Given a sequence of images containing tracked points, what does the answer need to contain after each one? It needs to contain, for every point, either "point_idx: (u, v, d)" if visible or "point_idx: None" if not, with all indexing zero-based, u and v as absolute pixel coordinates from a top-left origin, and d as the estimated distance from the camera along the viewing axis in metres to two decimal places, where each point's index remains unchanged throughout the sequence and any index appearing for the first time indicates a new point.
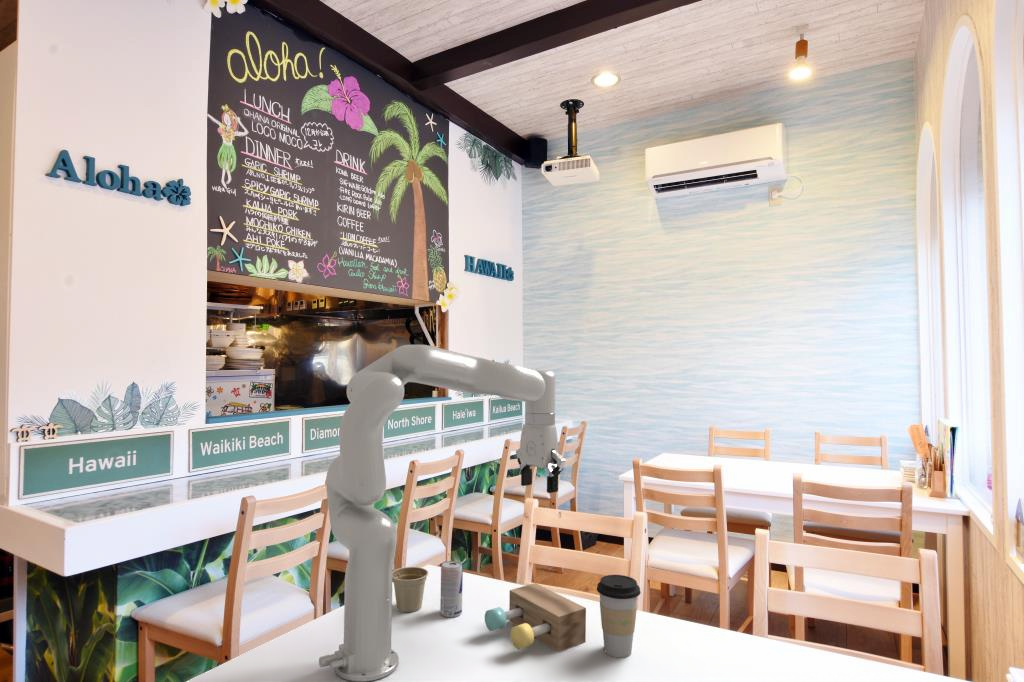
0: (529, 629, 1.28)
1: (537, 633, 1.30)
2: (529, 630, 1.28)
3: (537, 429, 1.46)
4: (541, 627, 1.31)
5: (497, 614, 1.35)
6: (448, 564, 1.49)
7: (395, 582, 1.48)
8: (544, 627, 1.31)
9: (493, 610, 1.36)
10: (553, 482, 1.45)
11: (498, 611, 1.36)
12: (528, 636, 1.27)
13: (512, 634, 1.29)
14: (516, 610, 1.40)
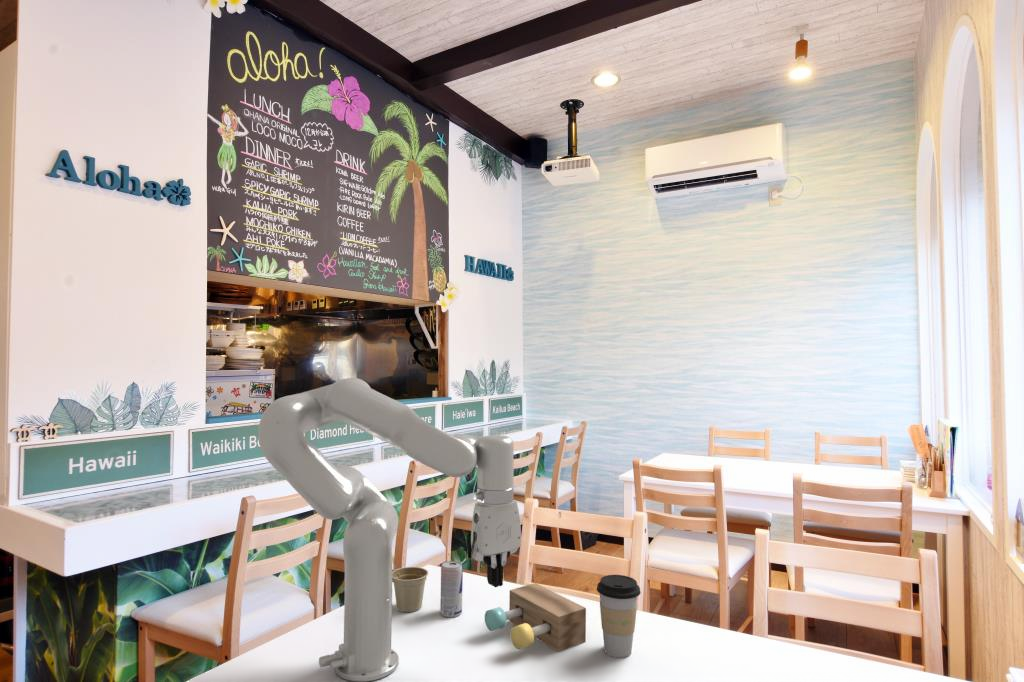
0: (529, 629, 1.28)
1: (537, 633, 1.30)
2: (529, 630, 1.28)
3: (511, 506, 1.24)
4: (541, 627, 1.31)
5: (497, 614, 1.35)
6: (448, 564, 1.49)
7: (395, 582, 1.48)
8: (544, 627, 1.31)
9: (493, 610, 1.36)
10: None
11: (498, 611, 1.36)
12: (528, 636, 1.27)
13: (512, 634, 1.29)
14: (516, 610, 1.40)
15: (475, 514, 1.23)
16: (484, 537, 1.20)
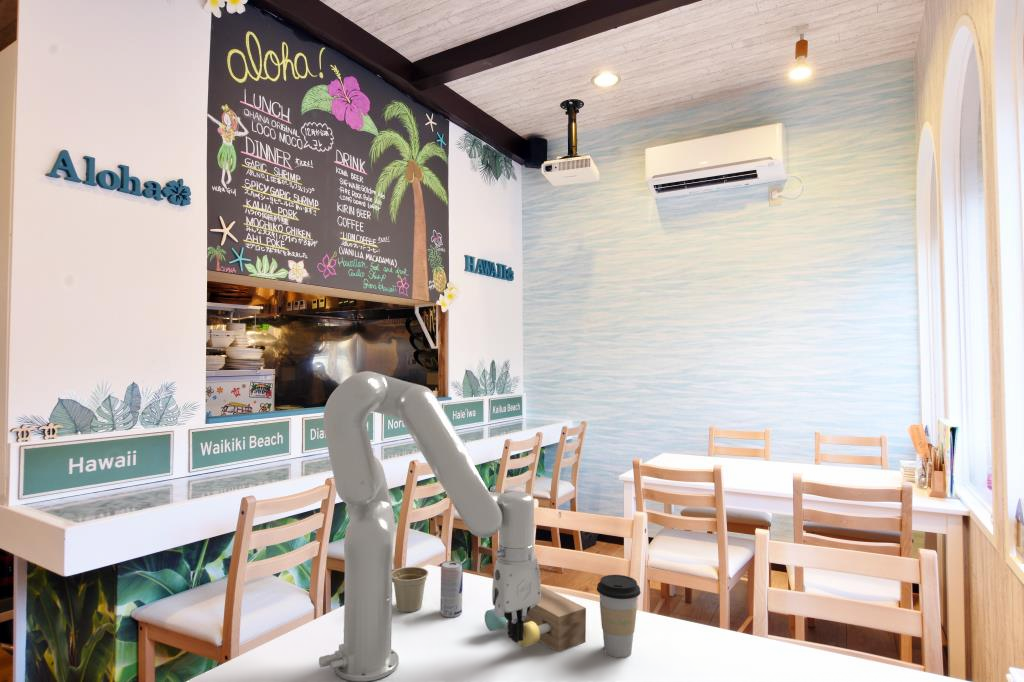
0: (535, 627, 1.29)
1: (543, 631, 1.31)
2: (535, 628, 1.29)
3: (531, 563, 1.27)
4: (547, 625, 1.32)
5: None
6: (448, 564, 1.49)
7: (395, 582, 1.48)
8: (550, 625, 1.32)
9: (493, 610, 1.36)
10: None
11: None
12: (534, 634, 1.28)
13: None
14: None
15: (496, 570, 1.26)
16: (505, 594, 1.23)
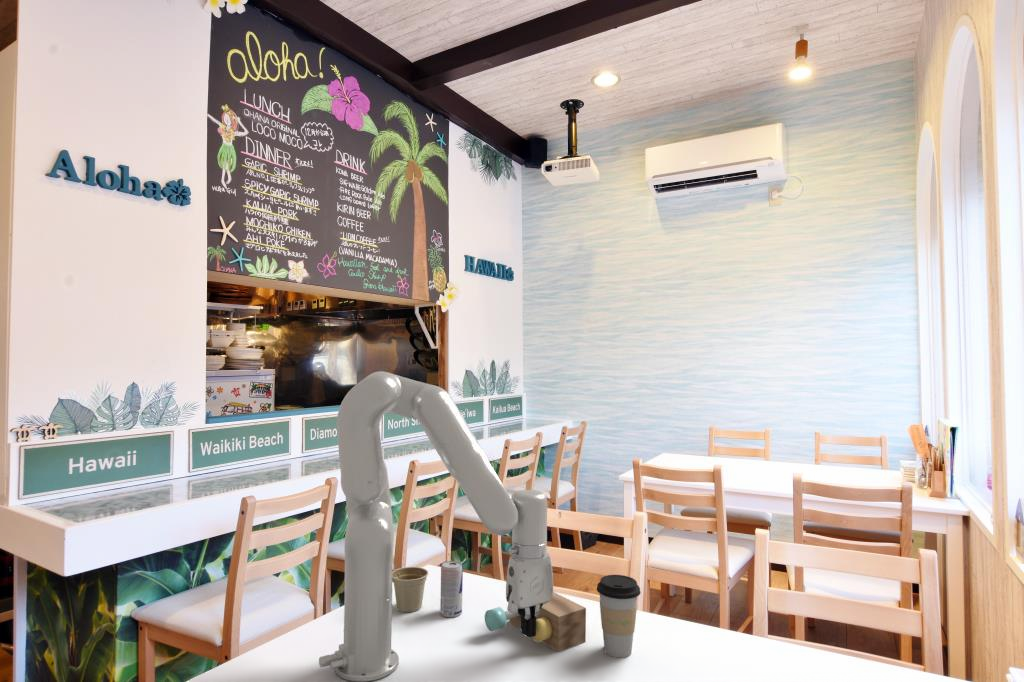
0: (547, 623, 1.31)
1: None
2: (547, 624, 1.31)
3: (544, 560, 1.29)
4: None
5: (497, 614, 1.35)
6: (448, 564, 1.49)
7: (395, 582, 1.48)
8: None
9: (493, 610, 1.36)
10: None
11: (498, 611, 1.36)
12: (547, 630, 1.30)
13: None
14: None
15: (510, 567, 1.28)
16: (519, 591, 1.25)
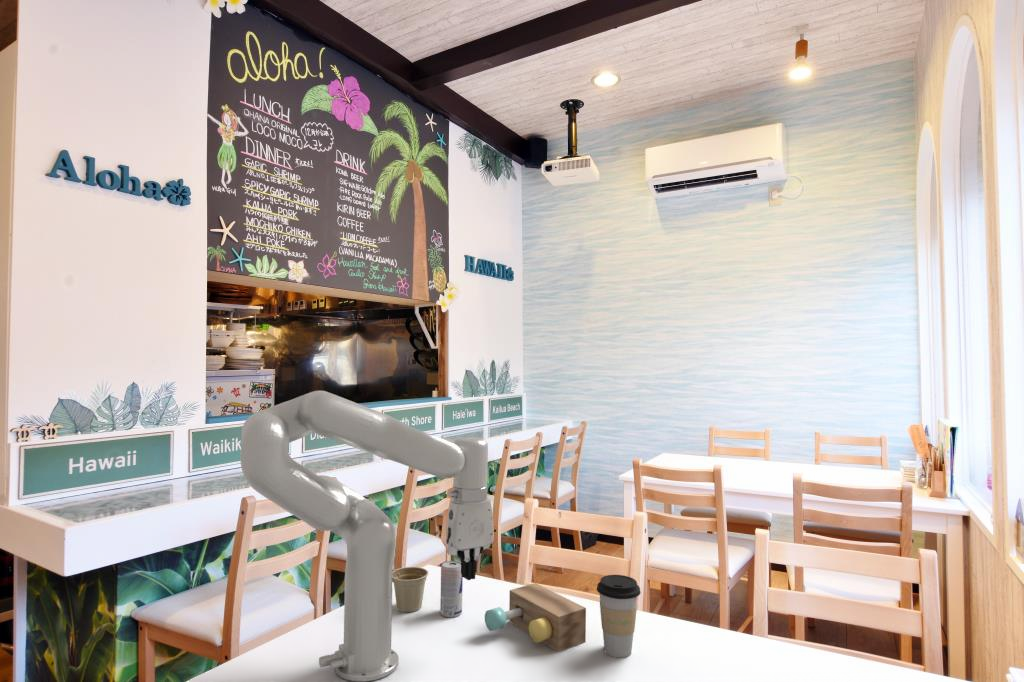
0: (547, 623, 1.31)
1: None
2: (547, 624, 1.31)
3: (484, 504, 1.32)
4: None
5: (497, 614, 1.35)
6: (448, 564, 1.49)
7: (395, 582, 1.48)
8: None
9: (493, 610, 1.36)
10: None
11: (498, 611, 1.36)
12: (546, 630, 1.30)
13: (530, 628, 1.32)
14: (516, 610, 1.40)
15: (450, 511, 1.31)
16: (458, 533, 1.28)
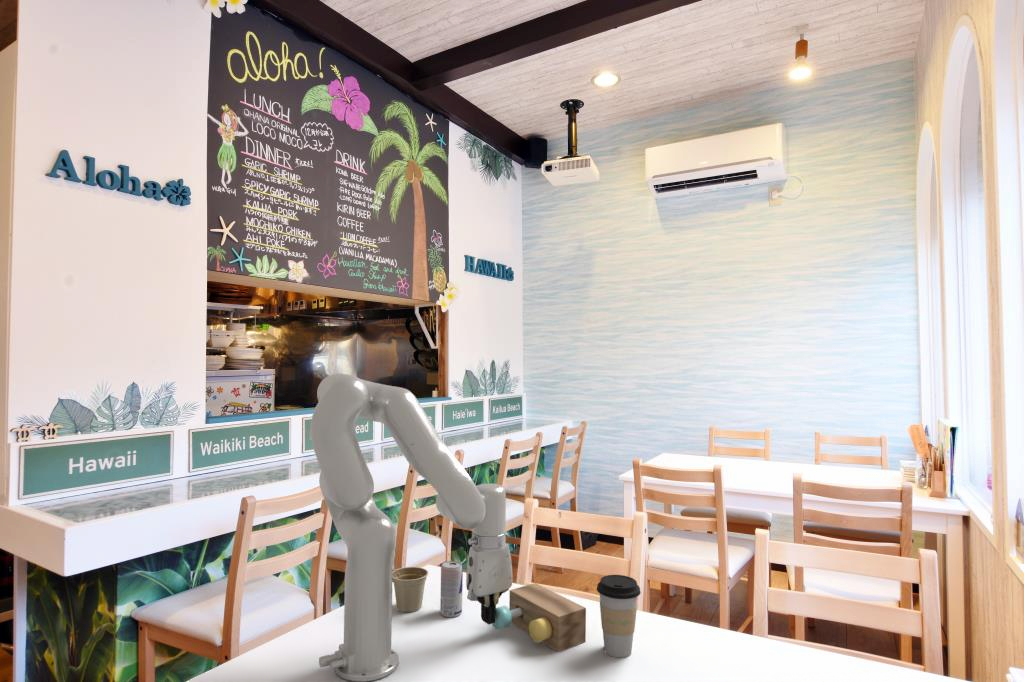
0: (547, 623, 1.31)
1: None
2: (547, 624, 1.31)
3: (503, 550, 1.35)
4: None
5: (502, 613, 1.36)
6: (448, 564, 1.49)
7: (395, 582, 1.48)
8: None
9: (498, 608, 1.37)
10: None
11: (503, 609, 1.37)
12: (546, 630, 1.30)
13: (530, 628, 1.32)
14: (521, 608, 1.40)
15: (470, 557, 1.34)
16: (478, 579, 1.31)
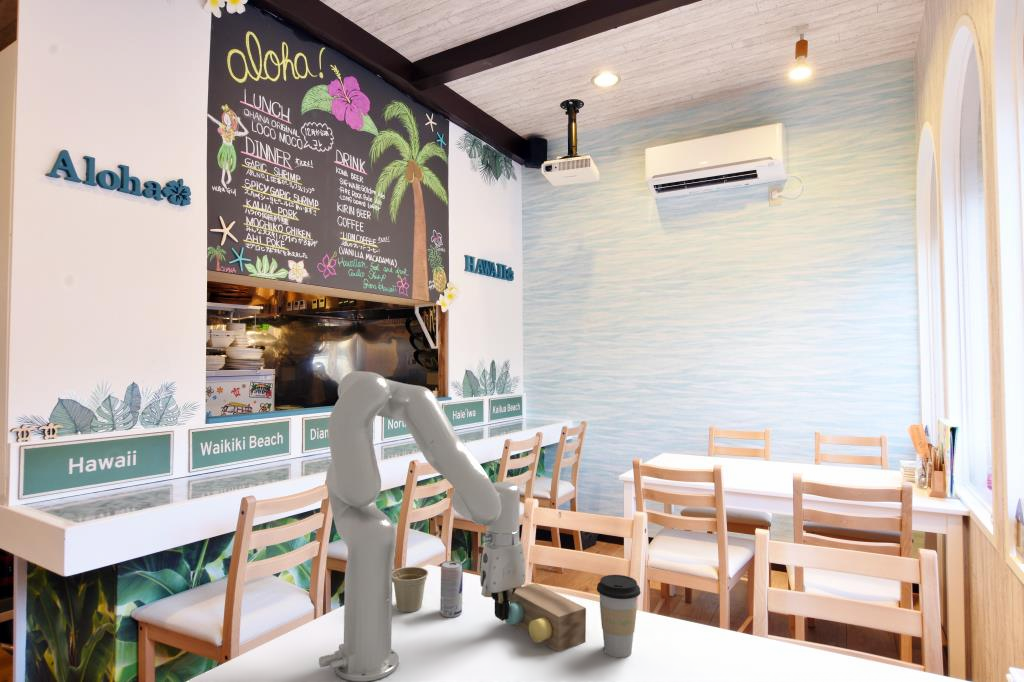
0: (547, 623, 1.31)
1: None
2: (547, 624, 1.31)
3: (517, 547, 1.37)
4: None
5: (515, 609, 1.38)
6: (448, 564, 1.49)
7: (395, 582, 1.48)
8: None
9: (511, 605, 1.39)
10: None
11: (516, 605, 1.39)
12: (546, 630, 1.30)
13: (530, 628, 1.32)
14: None
15: (484, 554, 1.36)
16: (492, 576, 1.33)
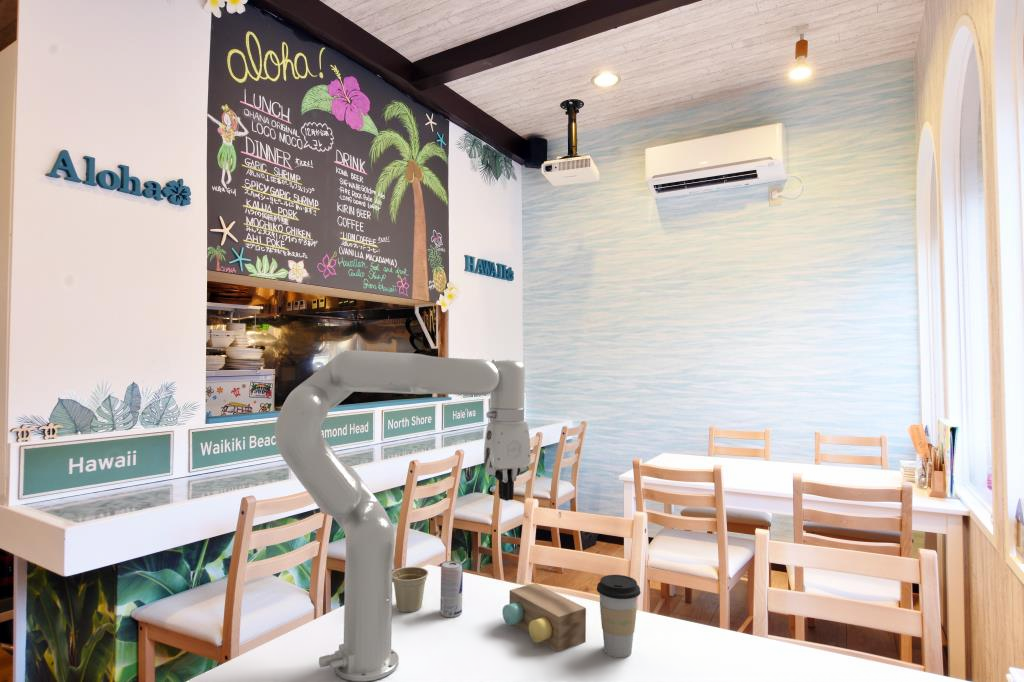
0: (547, 623, 1.31)
1: None
2: (547, 624, 1.31)
3: (521, 426, 1.32)
4: None
5: (515, 609, 1.38)
6: (448, 564, 1.49)
7: (395, 582, 1.48)
8: None
9: (511, 605, 1.39)
10: None
11: (516, 605, 1.39)
12: (546, 630, 1.30)
13: (530, 628, 1.32)
14: None
15: (488, 432, 1.31)
16: (497, 452, 1.28)
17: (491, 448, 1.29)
